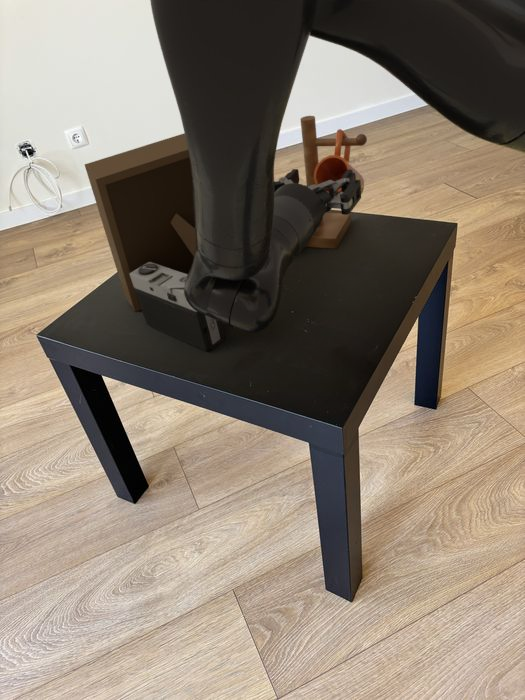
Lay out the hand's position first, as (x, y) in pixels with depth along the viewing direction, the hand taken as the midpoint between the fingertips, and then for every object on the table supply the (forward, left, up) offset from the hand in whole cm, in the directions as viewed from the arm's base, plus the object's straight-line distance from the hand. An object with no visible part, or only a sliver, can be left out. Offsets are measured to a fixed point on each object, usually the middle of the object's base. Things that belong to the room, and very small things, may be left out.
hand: (323, 175), depth 80 cm
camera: (+20, +16, -16) cm, 30 cm away
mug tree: (+1, -12, -16) cm, 20 cm away
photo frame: (+21, +8, -16) cm, 27 cm away
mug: (-3, -14, -5) cm, 15 cm away
